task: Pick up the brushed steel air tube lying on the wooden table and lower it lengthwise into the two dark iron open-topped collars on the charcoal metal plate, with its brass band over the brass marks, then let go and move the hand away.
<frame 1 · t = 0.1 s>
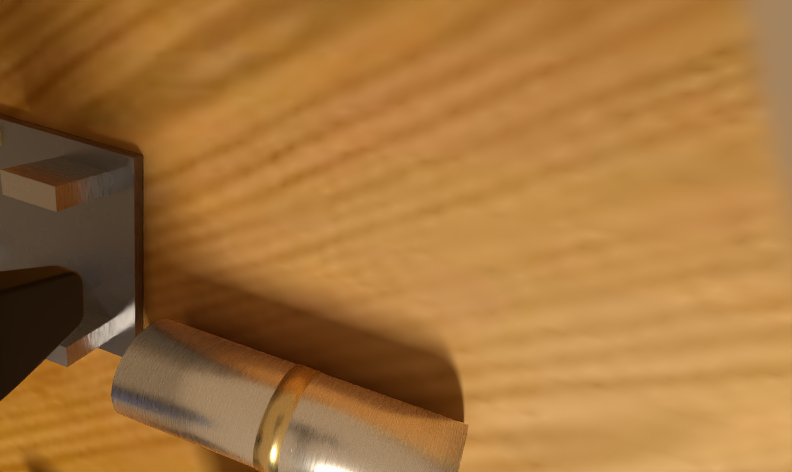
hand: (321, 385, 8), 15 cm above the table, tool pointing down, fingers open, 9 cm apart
collar cradle: (13, 221, 29), on the table
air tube: (313, 389, 27), on the table
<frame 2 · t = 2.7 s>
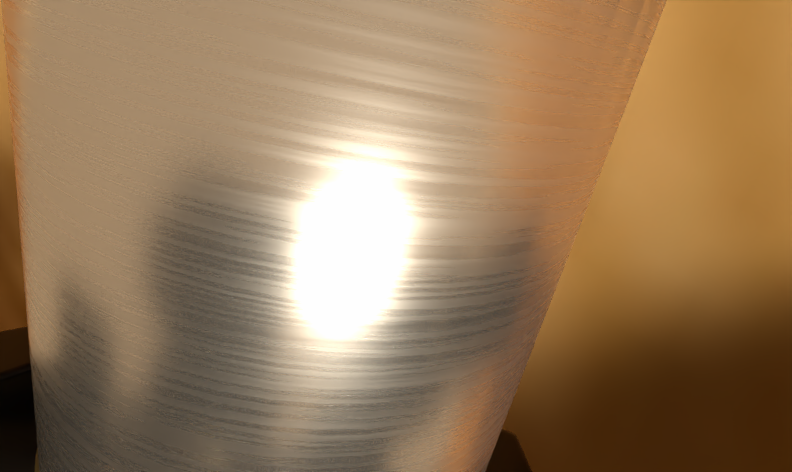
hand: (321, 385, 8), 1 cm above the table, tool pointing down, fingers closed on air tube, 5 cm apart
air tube: (353, 352, 9), on the table, touching gripper
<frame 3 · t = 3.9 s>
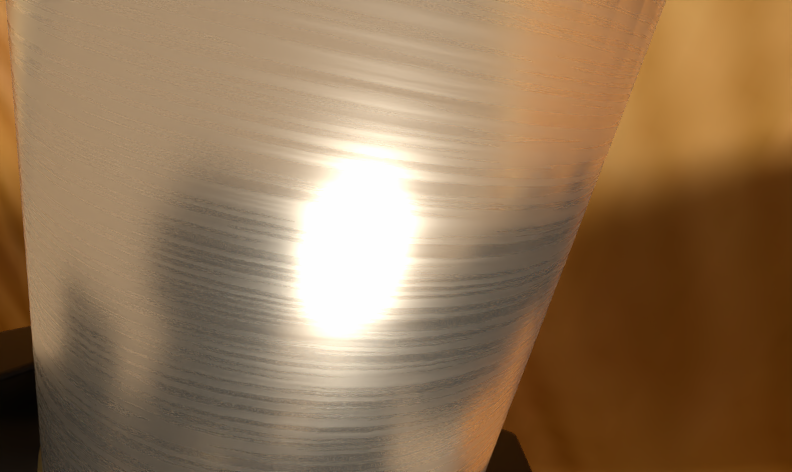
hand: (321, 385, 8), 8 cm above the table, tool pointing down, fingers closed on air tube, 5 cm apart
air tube: (354, 351, 9), point 7 cm above the table, touching gripper
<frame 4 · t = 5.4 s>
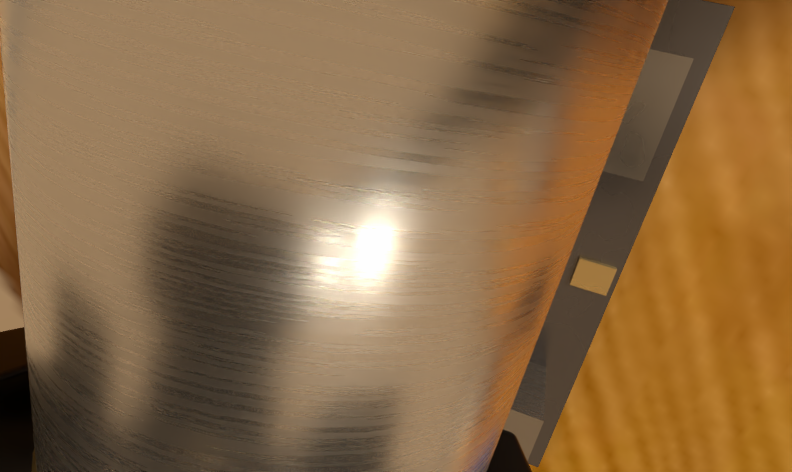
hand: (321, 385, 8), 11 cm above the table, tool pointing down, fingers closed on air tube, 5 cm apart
collar cradle: (447, 224, 19), on the table
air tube: (353, 350, 9), point 10 cm above the table, touching gripper
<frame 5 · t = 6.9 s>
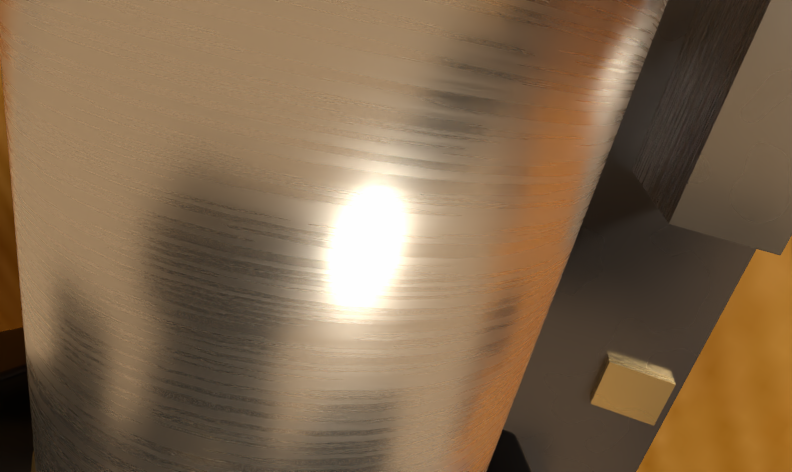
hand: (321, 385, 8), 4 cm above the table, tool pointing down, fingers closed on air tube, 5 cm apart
collar cradle: (386, 290, 11), on the table
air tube: (353, 352, 9), point 3 cm above the table, touching gripper
when the fingers open (3 cm above the table, at t = 7.9 s): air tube drops 1 cm, resting on collar cradle.
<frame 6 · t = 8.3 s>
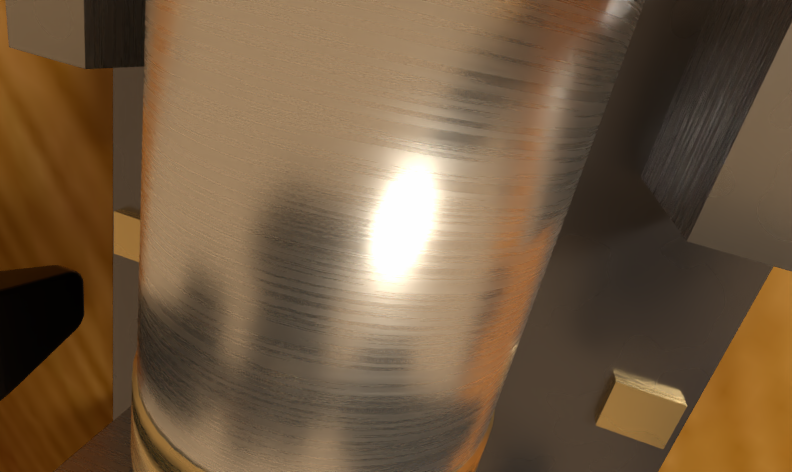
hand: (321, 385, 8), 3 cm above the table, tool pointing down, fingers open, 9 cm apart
collar cradle: (378, 302, 11), on the table
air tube: (377, 315, 10), point 1 cm above the table, touching collar cradle
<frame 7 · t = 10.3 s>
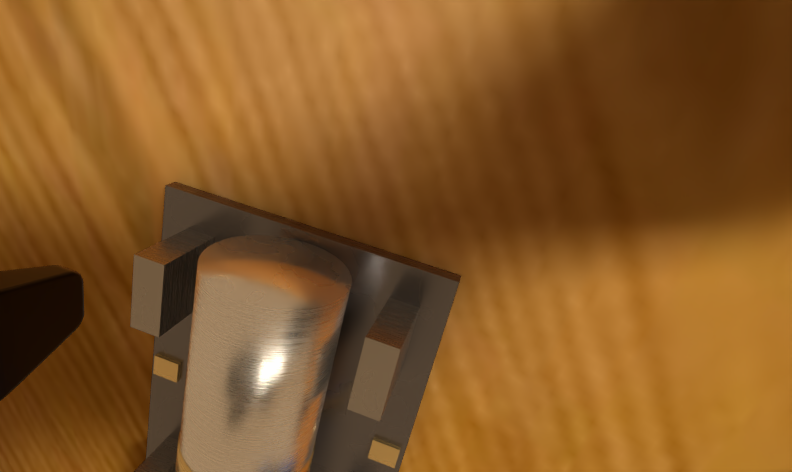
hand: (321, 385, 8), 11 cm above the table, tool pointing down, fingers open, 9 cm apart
collar cradle: (279, 399, 23), on the table
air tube: (276, 407, 22), point 1 cm above the table, touching collar cradle
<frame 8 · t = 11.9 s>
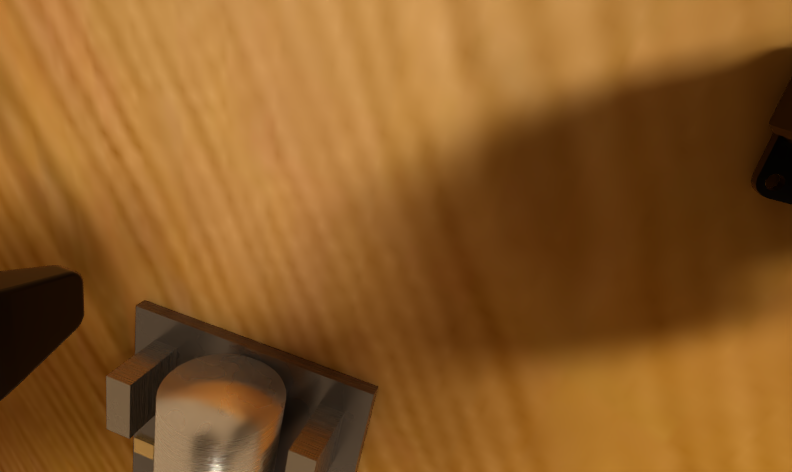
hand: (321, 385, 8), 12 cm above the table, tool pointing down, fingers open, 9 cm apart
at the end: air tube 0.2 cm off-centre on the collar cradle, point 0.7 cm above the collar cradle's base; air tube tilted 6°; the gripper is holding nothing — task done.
